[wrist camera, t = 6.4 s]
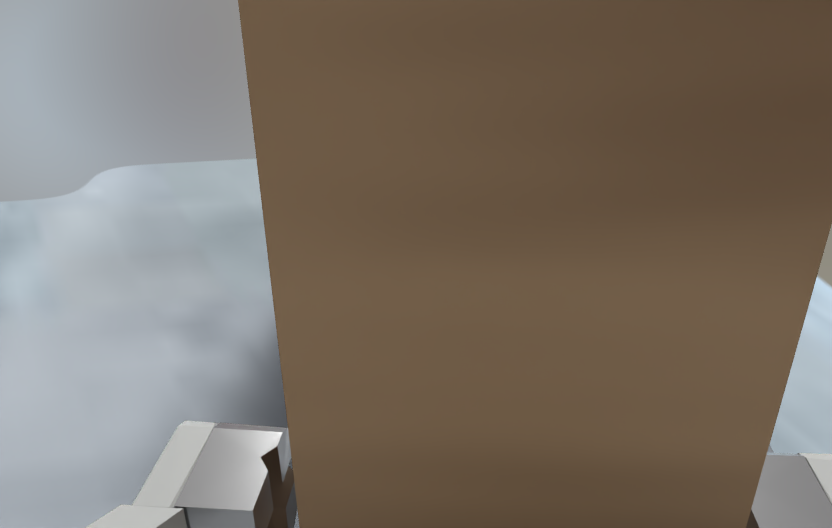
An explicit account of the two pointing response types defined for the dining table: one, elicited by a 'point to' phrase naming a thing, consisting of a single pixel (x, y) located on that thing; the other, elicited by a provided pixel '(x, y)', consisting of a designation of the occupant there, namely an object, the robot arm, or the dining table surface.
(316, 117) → the block
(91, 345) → the dining table surface
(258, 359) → the dining table surface
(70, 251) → the dining table surface
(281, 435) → the robot arm
